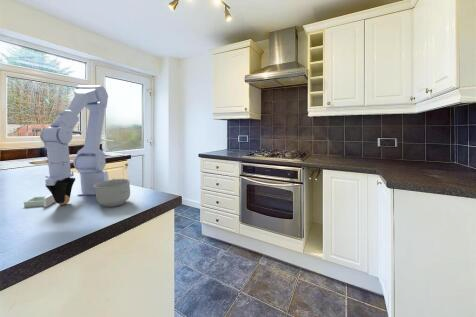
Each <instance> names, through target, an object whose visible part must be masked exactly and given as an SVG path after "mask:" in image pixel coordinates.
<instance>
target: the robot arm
mask: <svg viewBox="0 0 476 317" xmlns="http://www.w3.org/2000/svg"><path fill="white" fill-rule="evenodd" d="M73 94H74V97H73V98H72V101H71V102H70V104H69V106H68V107H67V109H63V110H60V111H59V112H58V113H57V114H58V115H57V116H56V117H55V119H54V120H53V121H52V122H51V124H50V125H49V126H46V127H44V128H43V129H42V130H41V132H40V135H39V138H40V140H41V141H42V143H43V145H44V148H45V149H46V156H47V162H48V163H47V164H48V172H49V174H47V175H45V178H46V179H45V187H46V189H47V190H48V191H49V192H50V194H52V195H53V197H54V200H55V202H54V203H55V204H58V203H64V201H65V195H67V196H69V198H71V195H72V194H71V193H72V190H73V185H74V183H75V181H76V177H74V175H75V174H74V171H73V170H71V161H70V150H69V149H70V148H69V147H70V146H69V143H70V142H71V141H72V140H73V132H74V129H75V127H76V125H77V124H78V122H79V121H80V119H79V115H80V113H81V112H82V111H83V109H84V108H85V109H87V110H89V114H88V120H87V127H86V132H85V139H84V145H83V147H81V149H79V150H78V151H77V152H76V156H75V157H74V159H73V166H74V169H75V170H77V172H78V173H79V175H80V176H79V177H80V178H79V179H80V187H81V188H80V189H81V191H80V192H79V193H77V196H89V195H90V196H91V195H96V193H95V188H94V185H95V184H97V183H100V182H103V181H107V180H110V179H109V173H108V171H106V170H104V169H105V167H106V162H107V161H106V153H105V152H104V151H103V150H102V149H100V146H101V138H102V133H103V127H104V118H105V113H106V109H107V108H108V107H107V106H108V100H109V95H108V92H107V89H106V88H105V87H104V86H103V85H81V84H80V85H77V86H76V87H75V89H74V90H73Z"/></svg>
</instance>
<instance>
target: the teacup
mask: <svg viewBox="0 0 476 317" xmlns="http://www.w3.org/2000/svg"><path fill="white" fill-rule="evenodd" d="M94 188H95V193H96V194H95V198H96V201H97V202H98V204H99V205H101V206H104V207H108V208H111V207H112V208H113V207H117V206H120V205H124V204H125V203H126V202H127V201H128V200H129V198H130V197H131V186H130V179H128V178H127V179H126V178H111V179H109V180H107V181H103V182H100V183H97V184H95V185H94Z"/></svg>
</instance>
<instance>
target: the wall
mask: <svg viewBox="0 0 476 317" xmlns="http://www.w3.org/2000/svg"><path fill="white" fill-rule="evenodd" d="M46 196H47V197H45V198H43V203H44V206H43V208H47V207H49V206H50V205H52V204H54V203H56V202H55V200H54V197H53V195H52V193H50V194H49V195H48V194H47V195H46Z"/></svg>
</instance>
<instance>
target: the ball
mask: <svg viewBox="0 0 476 317" xmlns="http://www.w3.org/2000/svg"><path fill="white" fill-rule="evenodd" d="M70 198H71V197H70ZM70 198H69V196H67V195H65V201H64V203H57V204H58V205H60V206H65V205H67V204H68V203H69V202H70V200H71V199H70Z"/></svg>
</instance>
